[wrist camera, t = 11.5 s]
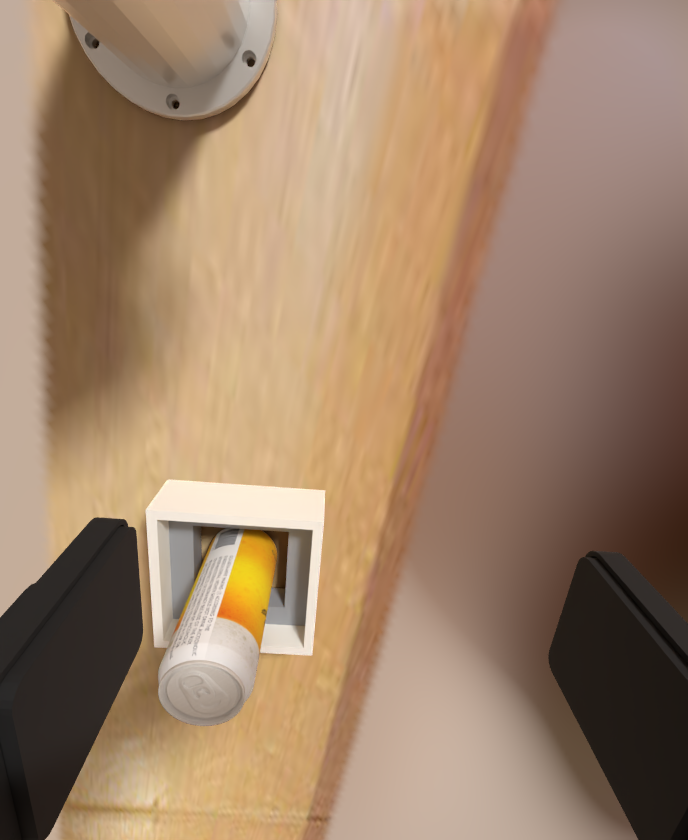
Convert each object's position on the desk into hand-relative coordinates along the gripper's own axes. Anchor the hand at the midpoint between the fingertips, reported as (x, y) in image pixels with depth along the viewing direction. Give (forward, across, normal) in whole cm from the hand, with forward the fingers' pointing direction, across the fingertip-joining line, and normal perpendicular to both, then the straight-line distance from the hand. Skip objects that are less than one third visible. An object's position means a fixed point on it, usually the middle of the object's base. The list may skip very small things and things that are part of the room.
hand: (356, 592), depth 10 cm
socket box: (+28, +7, +20) cm, 35 cm away
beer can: (+28, +7, +20) cm, 35 cm away
